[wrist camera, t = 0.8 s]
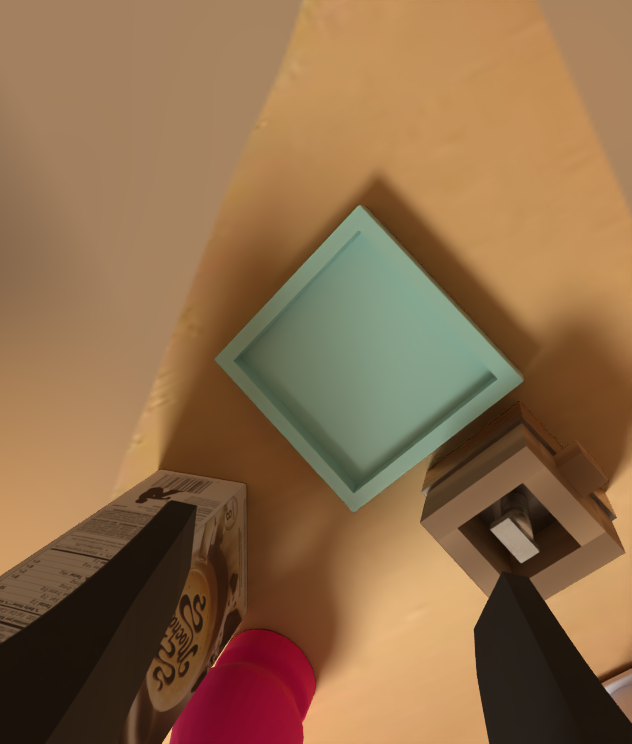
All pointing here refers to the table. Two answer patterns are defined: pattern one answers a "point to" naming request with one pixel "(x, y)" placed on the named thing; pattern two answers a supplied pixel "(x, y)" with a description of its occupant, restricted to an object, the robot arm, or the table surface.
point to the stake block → (520, 506)
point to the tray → (366, 361)
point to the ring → (551, 487)
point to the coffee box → (196, 605)
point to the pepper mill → (250, 695)
